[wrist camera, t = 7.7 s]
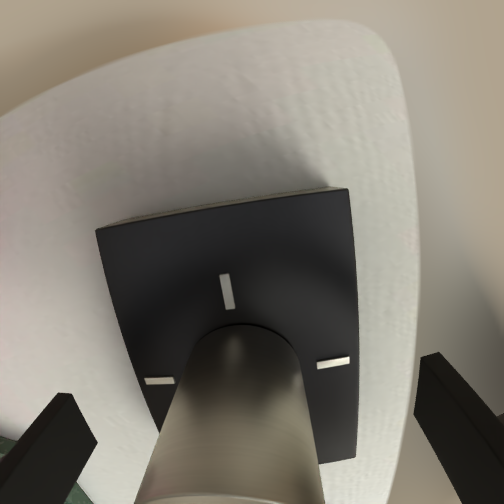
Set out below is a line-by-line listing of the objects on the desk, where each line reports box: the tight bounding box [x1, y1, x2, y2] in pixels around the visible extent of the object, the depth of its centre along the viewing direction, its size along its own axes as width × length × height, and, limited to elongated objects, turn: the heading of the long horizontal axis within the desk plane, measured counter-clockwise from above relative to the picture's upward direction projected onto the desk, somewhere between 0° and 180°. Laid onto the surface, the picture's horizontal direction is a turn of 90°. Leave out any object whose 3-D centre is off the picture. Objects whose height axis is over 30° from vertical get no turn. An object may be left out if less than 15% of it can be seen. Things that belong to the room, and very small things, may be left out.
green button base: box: [0, 437, 93, 504], centre depth 19 cm, size 12×10×4 cm
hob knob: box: [134, 325, 325, 504], centre depth 9 cm, size 5×5×8 cm
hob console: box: [95, 187, 359, 464], centre depth 14 cm, size 14×10×3 cm
